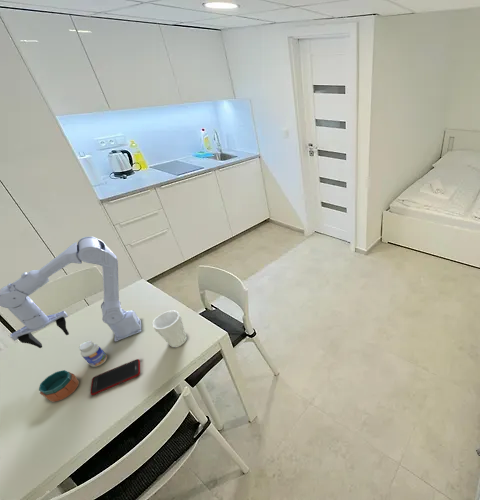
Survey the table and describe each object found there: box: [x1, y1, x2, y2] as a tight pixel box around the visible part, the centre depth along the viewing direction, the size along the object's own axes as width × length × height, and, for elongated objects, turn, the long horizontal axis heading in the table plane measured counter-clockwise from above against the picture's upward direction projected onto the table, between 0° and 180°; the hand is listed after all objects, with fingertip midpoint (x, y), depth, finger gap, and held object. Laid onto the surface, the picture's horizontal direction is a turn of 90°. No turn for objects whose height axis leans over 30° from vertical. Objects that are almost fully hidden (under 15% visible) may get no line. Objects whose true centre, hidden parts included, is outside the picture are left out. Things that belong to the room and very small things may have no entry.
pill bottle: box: [78, 340, 108, 368], centre depth 108 cm, size 5×5×10 cm
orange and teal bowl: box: [38, 369, 80, 403], centre depth 100 cm, size 9×9×6 cm
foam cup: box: [151, 309, 187, 348], centre depth 114 cm, size 10×9×13 cm
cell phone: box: [90, 358, 141, 396], centre depth 104 cm, size 8×15×1 cm, turn 122°
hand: (54, 339), depth 107 cm, fingers open, 7 cm apart
